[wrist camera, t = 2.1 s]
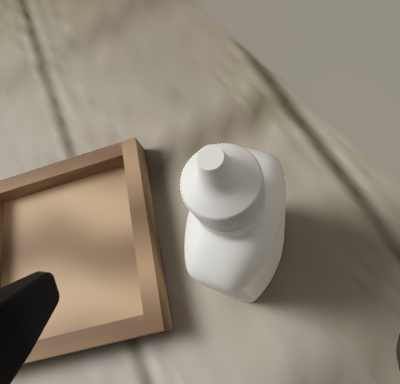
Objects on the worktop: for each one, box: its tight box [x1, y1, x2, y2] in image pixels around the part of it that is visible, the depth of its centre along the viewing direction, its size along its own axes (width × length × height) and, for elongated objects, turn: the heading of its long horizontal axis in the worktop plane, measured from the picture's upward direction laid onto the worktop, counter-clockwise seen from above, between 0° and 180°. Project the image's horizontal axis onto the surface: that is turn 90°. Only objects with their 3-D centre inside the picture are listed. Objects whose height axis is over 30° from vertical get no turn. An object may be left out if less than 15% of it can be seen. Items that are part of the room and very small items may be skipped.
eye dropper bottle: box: [180, 143, 286, 303], centre depth 13 cm, size 4×6×12 cm
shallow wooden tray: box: [0, 138, 173, 364], centre depth 21 cm, size 12×12×2 cm
